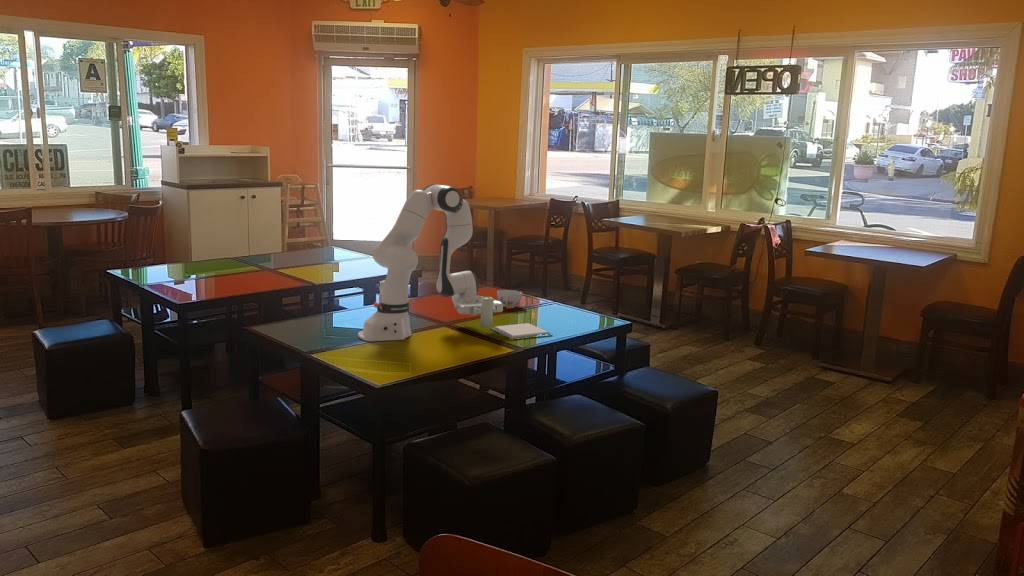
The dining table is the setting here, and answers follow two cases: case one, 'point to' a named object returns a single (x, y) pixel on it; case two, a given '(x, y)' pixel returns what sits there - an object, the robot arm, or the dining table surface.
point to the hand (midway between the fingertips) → (487, 311)
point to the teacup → (509, 297)
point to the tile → (519, 330)
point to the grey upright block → (487, 312)
